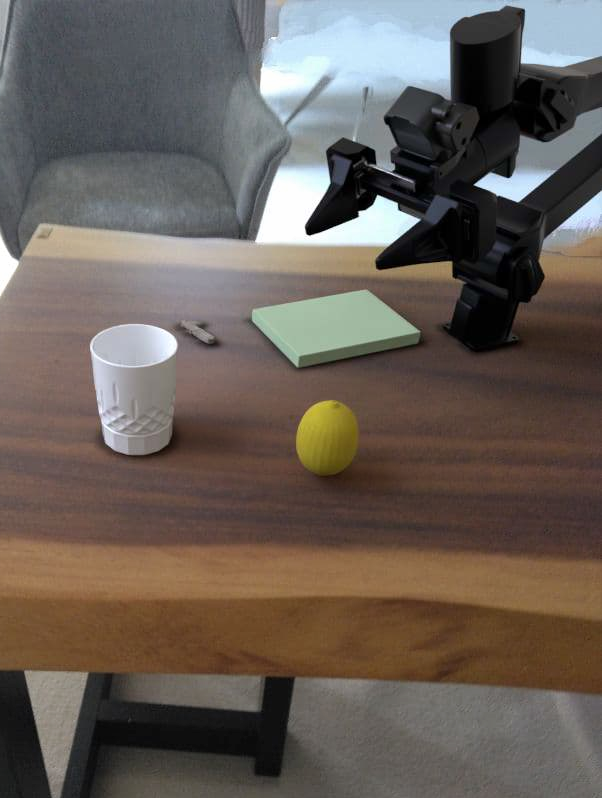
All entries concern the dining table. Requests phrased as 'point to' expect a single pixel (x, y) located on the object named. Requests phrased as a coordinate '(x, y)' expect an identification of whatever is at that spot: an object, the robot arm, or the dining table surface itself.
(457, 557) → the dining table surface
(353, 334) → the cutting board
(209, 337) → the pocket knife
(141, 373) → the white cup
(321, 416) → the lemon
